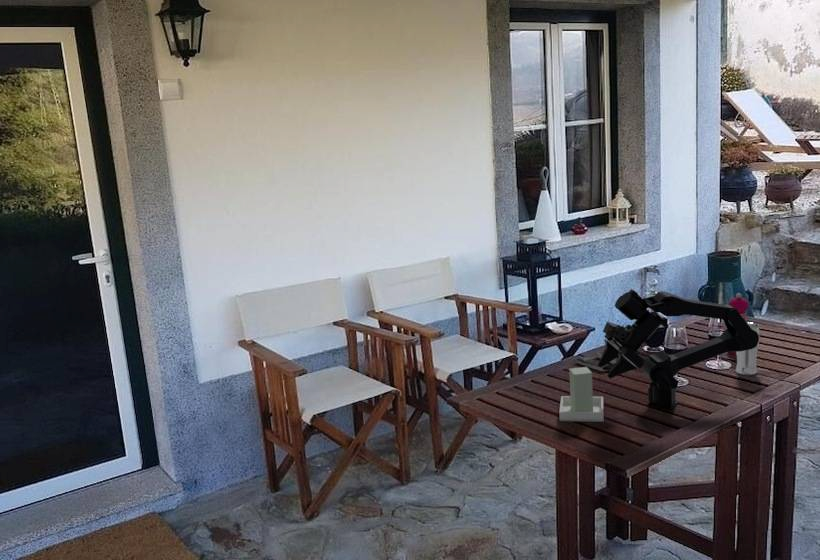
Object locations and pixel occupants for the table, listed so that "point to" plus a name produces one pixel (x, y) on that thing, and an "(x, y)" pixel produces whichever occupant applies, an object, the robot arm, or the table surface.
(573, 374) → the handle block
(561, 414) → the tray
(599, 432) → the table surface
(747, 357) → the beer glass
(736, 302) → the pepper mill
